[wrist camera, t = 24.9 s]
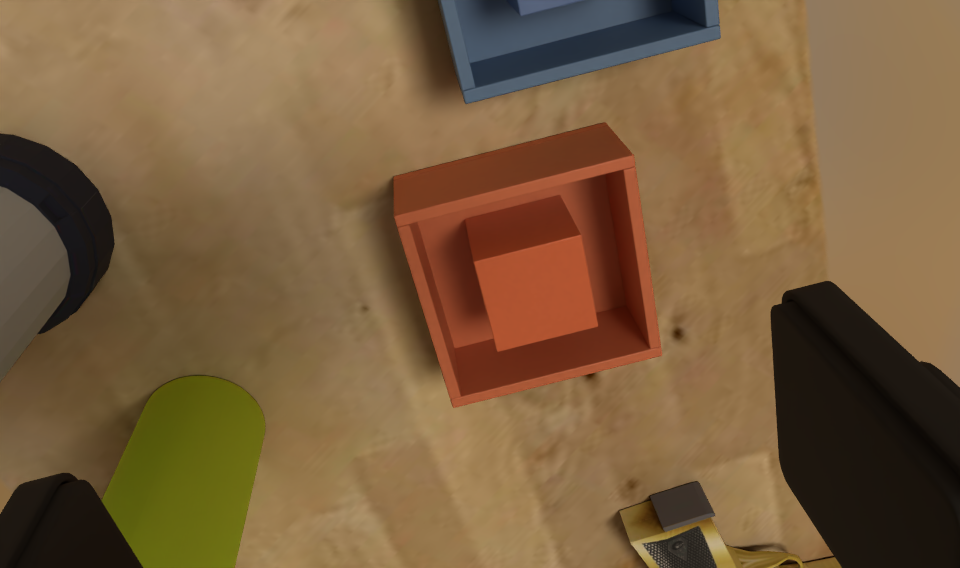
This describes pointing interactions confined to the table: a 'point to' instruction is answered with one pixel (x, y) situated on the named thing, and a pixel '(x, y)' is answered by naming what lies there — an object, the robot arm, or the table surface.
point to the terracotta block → (531, 272)
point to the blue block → (537, 5)
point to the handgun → (693, 535)
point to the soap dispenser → (188, 474)
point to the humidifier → (45, 242)
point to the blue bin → (564, 39)
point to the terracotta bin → (607, 244)
